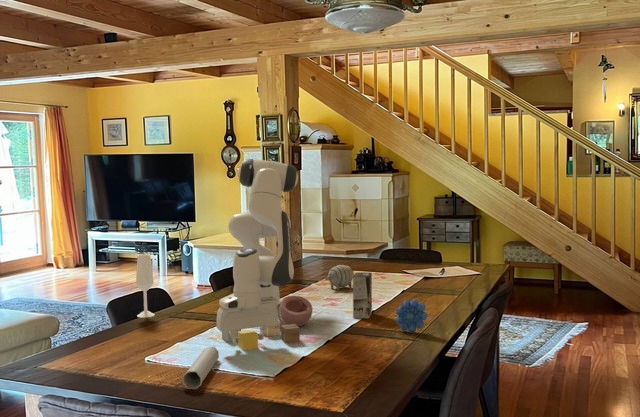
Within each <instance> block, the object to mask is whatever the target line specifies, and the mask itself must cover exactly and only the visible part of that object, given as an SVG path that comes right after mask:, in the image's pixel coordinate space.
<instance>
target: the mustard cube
mask: <svg viewBox="0 0 640 417" xmlns="http://www.w3.org/2000/svg"><path fill="white" fill-rule="evenodd" d="M258 334H259V333H258V332H256V330H254V329H247V330H245V329H244V330H241V331H238V338H239V340H238V341H239V343H237V347H239V348H240V349H241V350H242V351H248V350H253V349H258V348H259V339H258Z"/></svg>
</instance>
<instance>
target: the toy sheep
mask: <svg viewBox="0 0 640 417" xmlns="http://www.w3.org/2000/svg"><path fill="white" fill-rule="evenodd" d="M354 272H355V271H354V270H353V269H352V268H351V267H350V266H349V265H344V264H338V265H336V266H335V265H334V266H333V267H331V268H330V269H329V271H328V274H327V276H325V277H324V279H325V280H326V281H328V282H329V283H330V290H333V289H334V287H335V288H336V291H340V289H341V288H342V289H343V288H346V287H348V288H349V289H352V282H353V276H354V275H355V273H354Z"/></svg>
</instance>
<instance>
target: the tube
mask: <svg viewBox="0 0 640 417" xmlns="http://www.w3.org/2000/svg"><path fill="white" fill-rule="evenodd" d="M219 356H220V355H219V350H218V349H217V348H216V346H207V347H206V348H205V349H203V350H202V352H201V353H200V354H199V355H198V357H197V358H196V359H195V360H194V361H193V363H192V364H191V366H190V367H189V369H187V371H186V372H185V373H184V374H183V375H182V384H183V386H184V387H185V388H186V389H189V390H191V389H192V390H197V389H198V388H199V387H201V386H202V385H203V381H204V380H205V379H206V377H207V375H208V374H209V373H210V372H211V369H212V368H214V366H215V364H216V363H217V361H218V360H219Z"/></svg>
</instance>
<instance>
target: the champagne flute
mask: <svg viewBox="0 0 640 417" xmlns="http://www.w3.org/2000/svg"><path fill="white" fill-rule="evenodd" d="M136 260H137V261H136V274H135V285H136V286H137V288H138V289H139V290H141V291H142V292H143V311H141V312H140V313H139V314H137V315H136V316H137V318H152V317H154V316H155V313H153V312H151V311H149V310H148V296H147V295H148V294H147V291H149V289H151V288H152V287H153V285H154V276H153V268H152V259H151V254H150V253H141V254H137V258H136Z"/></svg>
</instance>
